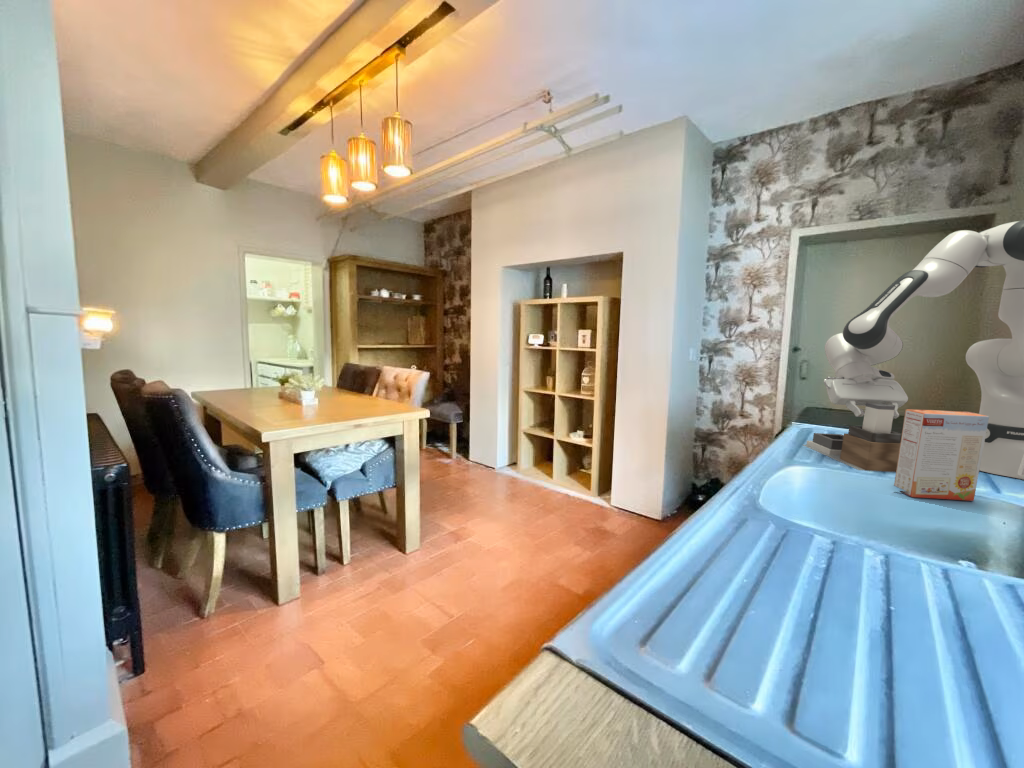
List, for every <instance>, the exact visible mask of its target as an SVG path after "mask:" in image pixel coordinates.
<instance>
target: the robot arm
mask: <svg viewBox="0 0 1024 768" xmlns="http://www.w3.org/2000/svg"><path fill="white" fill-rule="evenodd" d="M996 266H997V267H998V266H1002V267H1003V268H1004V271H1005V278H1004V279H1005V280H1004V283H1003V286H1002V290H1001V291H1002V292H1001V296H1000V303H999V308H998V314H997V316H998V318H999V320H1000V321H1002V323H1004V324H1006V325H1007V326H1008V328H1009V330H1010V333H1011V338H993V339H992V338H991V339H984V340H981V341H980V340H979V341H977V342H975V343H973V344H972V345H970V346H969V347H968V349H967V351H966V353H965V361H966V364H967V365H968V367H970V368H971V370H972V371H973V372H975V374H976V377H977V379H978V382H979V386H980V391H981V392H980V393H981V399H980V405H979V412H978V414H980V415H985V416H989V420H988V425H987V431H986V436H985V442H984V447H983V453H982V458H981V464H980V469H979V472H983V473H984V472H985V473H989V474H992V475H993V474H994V475H998V476H1005V477H1010V478H1013V479H1015V478H1016V479H1018V480H1024V219H1021V220H1018V221H1017V220H1016V221H1012V222H1011V221H1010V222H1007V223H1003V224H1000V225H997V226H994V227H991V228H988V229H985V230H981V231H980V230H979V231H978V232H977V231H974V230H967V229H964V230H961V229H960V230H956V231H954V232H950V233H949V234H948V235H947V236H946V237H944V238H943V239H942V240H941V241H940V242H938V243H937V244H936V245H935V246H934V247H933V248H932V249H931V250H930V251H928V253H927V254H926V255H925V256H924V257H923V259H922V260H921V261H919V263H918V264H917V265H916V266H915V267H914V268H913V269H912V270H909V271H907V272H905V273H903V274H902V275H901V276H899V277H898V278H897V279H896V280H895V281H894V282H892V283H891V284H890V285H889V286H888V287H887V288H886V289H885V290H884V291H882V293H881V294H879V296H878V297H877V298H876V299H874V300H873V302H872V303H871V304H870V305H869V306H867V307H866V308H865V309H864V310H863V311H861V312H860V313H858V314H856V316H854V317H852V318H851V319H850V320H849V321H848V322H847V323H845V326H844V327H843V329H842V330H843V331H842V332H840V333H836V334H834V335H832V336H830V337H829V338H828V339H827V340H826V342H825V345H824V353H825V355H826V359H827V361H828V363H829V365H830V367H831V368H832V369H834V372H835V373H834V374H835V377H833V376H827V377H825V378H824V379H823V384H824V385H825V388H826V393H827V397H828V399H829V401H830V402H831V403H832V404H833V405H842V406H846V408H847V409H848V410H850V411H851V412H852V413H853V414H854V416H855V417H858V418H859V417H860V418H861V417H864V414H865V411H864V410H863V408H860V407H862V406H863V407H866V403H880V404H886V405H891V406H895V410H894V415H893V419H897V418H899V417H900V414H899V412H898V409H899V408H901V407H902V406H904V405H905V404H906V403H907V402H908V400H909V396H908V394H907V393H906V392H905V390H904V388H903V387H902V385H901V384H900V383H899V382H898V381H896V380H895V378H896V376H895V375H894V373H892V372H889V371H887V370H882V369H880V368H877V367H874V366H875V365H876V366H877V365H879V364H882V363H886V362H889V361H891V360H892V359H895V358H896V357H897V356H899V355H900V353H901V352H902V350H903V347H904V343H903V340H902V338H901V337H900V336H899V335H898V334H897V333H896V332H895V331H894V330H893V329H892V328H891V327H890V320H891V319H892V317H893V316H894V315H895V314H896V313H898V311H900V310H901V309H902V307H904V306H905V305H906V304H907V303H908V302H909V301H910V300H911V299H912V298H914V297H916V296H920V297H924V298H937V297H938V298H939V297H942V296H946V295H949V294H950V293H952V292H953V291H954V290H955V289H957V288H958V287H959V286H960V284H962V283H963V281H964V280H965V279H966V278H967V276H969V274H970V273H971V272H972V271H973V269H974V268H986V267H987V268H988V267H996ZM859 406H860V407H859Z"/></svg>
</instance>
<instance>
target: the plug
mask: <svg viewBox="0 0 1024 768" xmlns="http://www.w3.org/2000/svg"><path fill="white" fill-rule="evenodd" d="M864 407H865V408H864V413H865V414H864V415H863V421H862V426H861V427H862V429H864V430H867V431H870V432H873V433H891V431H892V427H893V422H894V421H893V420H894V418H893V415H894V410H895V406H891V405H886V404H880V403H866V406H864Z"/></svg>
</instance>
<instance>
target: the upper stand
mask: <svg viewBox="0 0 1024 768" xmlns="http://www.w3.org/2000/svg"><path fill="white" fill-rule="evenodd" d="M843 435H844V437H843V443H842V450H841V456H840V459H841V460H843V461H846V462H848V463H850V464H853V465H855V466H857V467H859V468H862V469H864V470H863V471H865V470H869V472H870V471H871V472H884V471H888V473H896V470H897V463H898V457H899V450H900V443H901V437H902V433H900V432H896V431H892V430H891V433H873V432H870V431H867V430H864V429H862V426H858V425H857V426H855V425H854V426H853V425H849V427H848V433H845V432H844V433H843Z"/></svg>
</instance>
